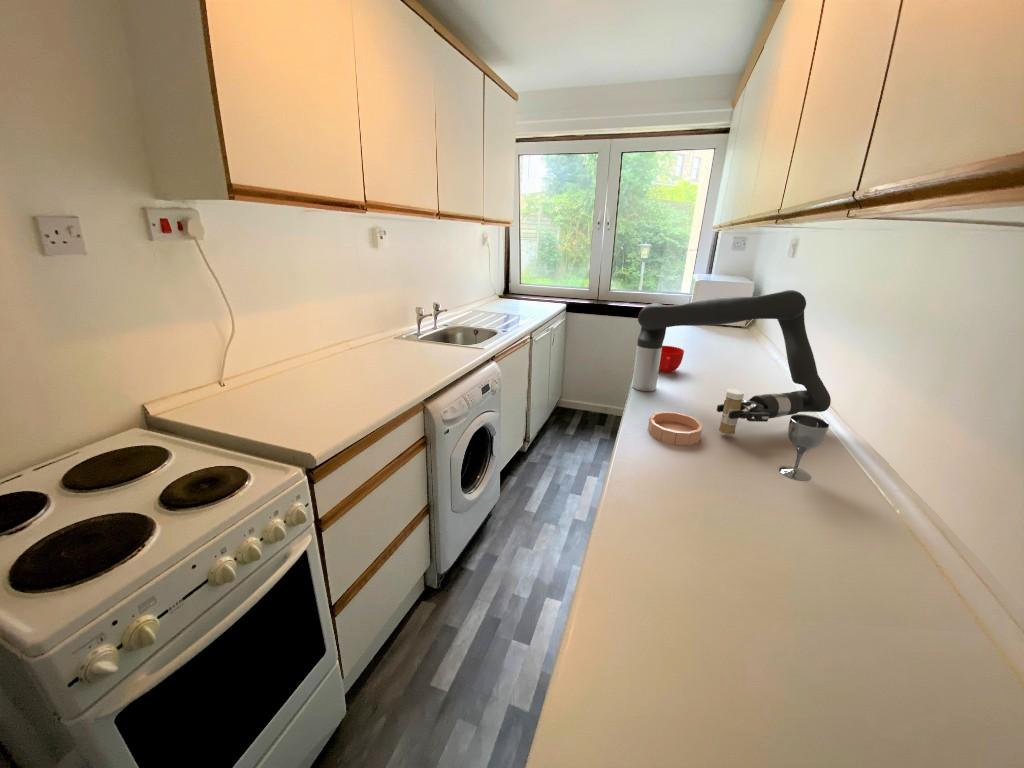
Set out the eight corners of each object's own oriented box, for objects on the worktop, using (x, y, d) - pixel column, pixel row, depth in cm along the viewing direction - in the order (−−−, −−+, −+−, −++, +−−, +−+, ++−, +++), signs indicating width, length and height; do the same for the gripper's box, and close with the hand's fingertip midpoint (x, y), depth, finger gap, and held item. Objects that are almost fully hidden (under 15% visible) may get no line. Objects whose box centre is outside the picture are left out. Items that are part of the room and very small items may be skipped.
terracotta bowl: (643, 422, 136) (645, 410, 134) (690, 423, 135) (692, 412, 133) (655, 444, 122) (657, 431, 120) (707, 446, 121) (710, 434, 119)
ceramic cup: (649, 376, 178) (652, 354, 175) (650, 365, 194) (653, 344, 190) (681, 380, 175) (685, 357, 171) (679, 368, 190) (683, 347, 186)
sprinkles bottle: (717, 427, 130) (725, 387, 125) (733, 429, 128) (742, 389, 124) (719, 434, 126) (728, 392, 121) (736, 436, 124) (745, 394, 120)
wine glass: (795, 483, 103) (811, 429, 98) (769, 467, 111) (783, 415, 105) (820, 479, 105) (837, 426, 100) (793, 463, 113) (807, 412, 107)
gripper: (753, 386, 133) (709, 391, 129) (792, 404, 121) (745, 410, 116) (748, 408, 136) (704, 413, 131) (786, 427, 123) (739, 434, 119)
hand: (724, 411), depth 124 cm, fingers closed on sprinkles bottle, 4 cm apart
